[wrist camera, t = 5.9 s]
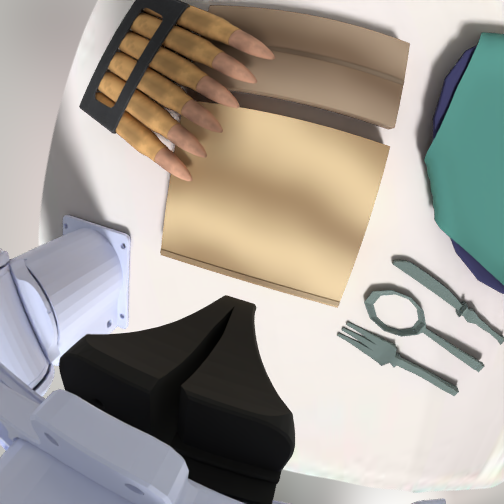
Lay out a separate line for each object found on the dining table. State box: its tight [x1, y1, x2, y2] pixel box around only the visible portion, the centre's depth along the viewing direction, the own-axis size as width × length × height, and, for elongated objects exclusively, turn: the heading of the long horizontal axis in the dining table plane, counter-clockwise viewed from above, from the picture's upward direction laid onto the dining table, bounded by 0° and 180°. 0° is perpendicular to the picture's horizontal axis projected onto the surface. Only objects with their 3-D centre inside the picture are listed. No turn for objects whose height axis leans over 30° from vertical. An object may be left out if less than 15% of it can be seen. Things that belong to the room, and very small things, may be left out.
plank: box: [160, 101, 390, 308], centre depth 19 cm, size 11×13×2 cm
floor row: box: [194, 5, 410, 129], centre depth 15 cm, size 6×13×2 cm, turn 78°
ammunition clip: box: [79, 0, 275, 181], centre depth 16 cm, size 11×2×12 cm
